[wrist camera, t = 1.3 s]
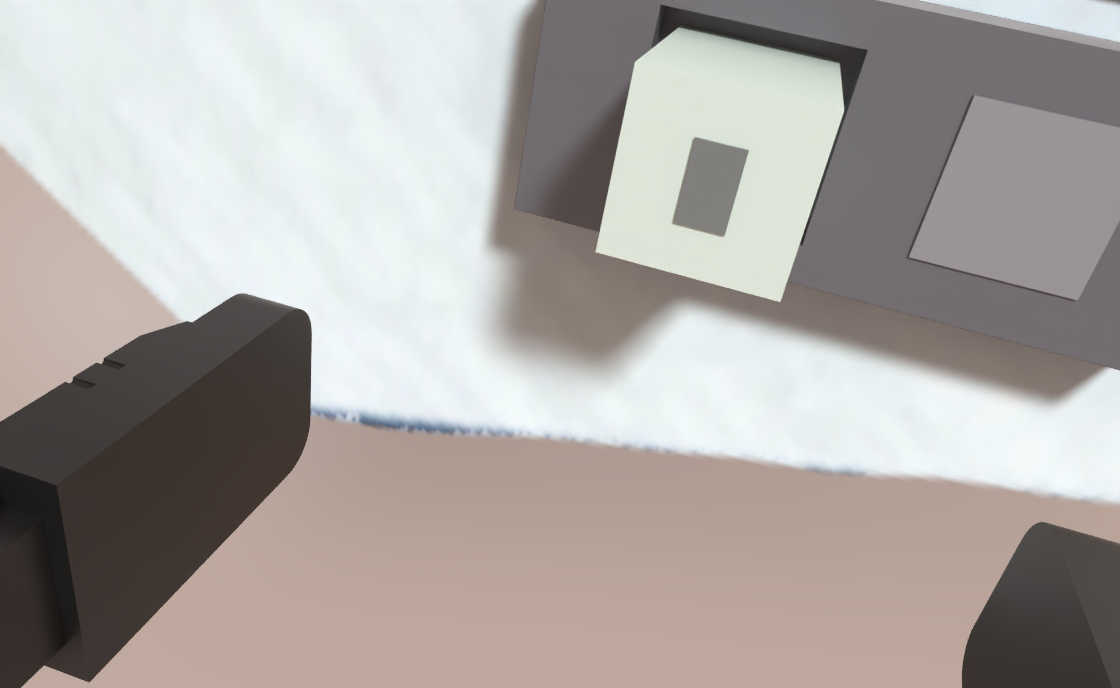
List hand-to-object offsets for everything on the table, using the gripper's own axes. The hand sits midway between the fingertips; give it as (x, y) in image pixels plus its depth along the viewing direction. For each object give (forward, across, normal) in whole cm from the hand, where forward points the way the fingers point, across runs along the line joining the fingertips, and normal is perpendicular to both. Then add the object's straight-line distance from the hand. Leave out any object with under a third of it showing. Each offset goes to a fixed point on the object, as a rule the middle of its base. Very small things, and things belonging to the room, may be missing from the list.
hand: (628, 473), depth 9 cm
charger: (+18, 0, 0) cm, 18 cm away
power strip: (+20, -9, 0) cm, 22 cm away
